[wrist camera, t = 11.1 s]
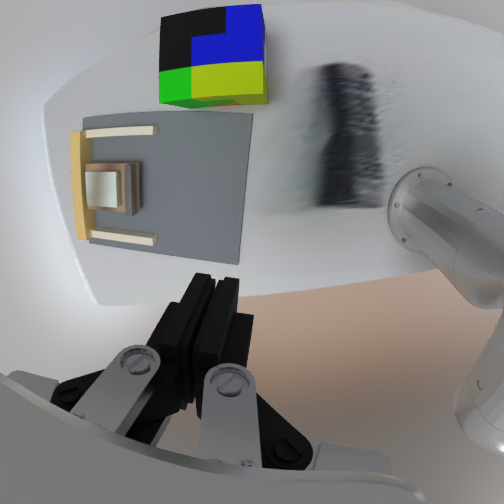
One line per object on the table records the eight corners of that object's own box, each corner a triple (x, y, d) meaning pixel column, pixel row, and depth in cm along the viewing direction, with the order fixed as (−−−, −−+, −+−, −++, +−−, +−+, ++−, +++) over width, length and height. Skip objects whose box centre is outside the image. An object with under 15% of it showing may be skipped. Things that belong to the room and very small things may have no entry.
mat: (252, 114, 32) (250, 112, 28) (238, 263, 41) (234, 275, 37) (84, 118, 33) (71, 119, 30) (90, 242, 42) (79, 250, 39)
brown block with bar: (143, 161, 35) (130, 165, 31) (143, 208, 38) (132, 216, 34) (93, 161, 35) (79, 165, 32) (95, 204, 38) (82, 211, 35)
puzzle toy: (266, 35, 27) (260, 4, 18) (267, 104, 31) (263, 93, 22) (190, 41, 28) (160, 17, 19) (190, 108, 32) (159, 102, 23)
